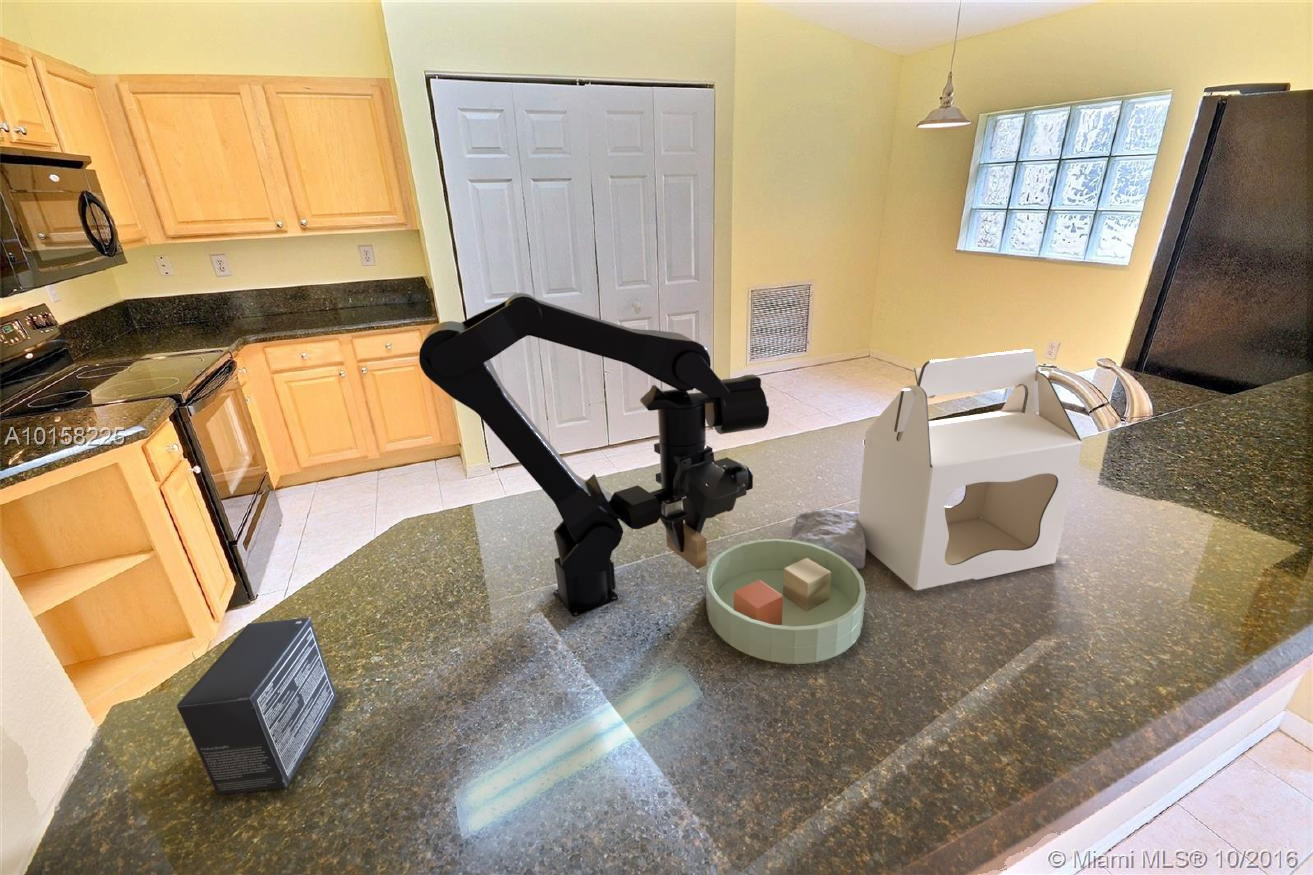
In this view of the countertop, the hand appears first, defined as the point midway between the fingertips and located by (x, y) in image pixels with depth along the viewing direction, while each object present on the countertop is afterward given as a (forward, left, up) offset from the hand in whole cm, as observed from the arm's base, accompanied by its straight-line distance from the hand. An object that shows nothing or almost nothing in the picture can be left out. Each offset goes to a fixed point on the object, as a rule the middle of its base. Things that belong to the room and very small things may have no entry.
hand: (686, 548), depth 76 cm
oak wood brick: (0, 0, -1) cm, 1 cm away
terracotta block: (+1, -13, -4) cm, 14 cm away
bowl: (+5, -13, -4) cm, 15 cm away
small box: (-47, +1, -5) cm, 47 cm away
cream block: (+9, -13, -4) cm, 16 cm away
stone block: (+20, -6, -4) cm, 22 cm away
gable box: (+33, -17, -5) cm, 38 cm away
